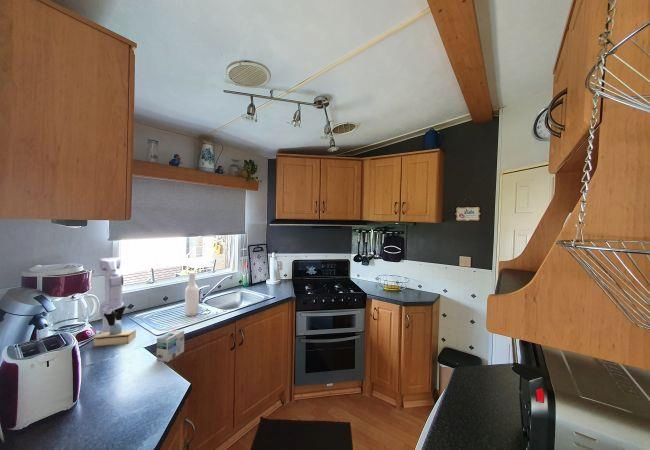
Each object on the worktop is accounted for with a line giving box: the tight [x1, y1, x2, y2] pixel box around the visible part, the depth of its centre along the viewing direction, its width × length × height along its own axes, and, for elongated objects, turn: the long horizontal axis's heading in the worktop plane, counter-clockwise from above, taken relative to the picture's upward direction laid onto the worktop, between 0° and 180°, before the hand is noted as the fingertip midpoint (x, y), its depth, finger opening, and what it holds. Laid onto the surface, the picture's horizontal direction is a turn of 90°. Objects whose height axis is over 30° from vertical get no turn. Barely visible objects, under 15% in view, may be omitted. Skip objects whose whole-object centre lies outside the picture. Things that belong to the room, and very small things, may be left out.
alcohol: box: [184, 271, 200, 317], centre depth 181 cm, size 9×9×30 cm
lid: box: [93, 329, 137, 339], centre depth 139 cm, size 8×16×1 cm, turn 103°
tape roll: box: [109, 322, 123, 335], centre depth 139 cm, size 5×5×5 cm
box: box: [92, 330, 137, 347], centre depth 139 cm, size 8×16×4 cm, turn 103°
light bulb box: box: [156, 329, 185, 363], centre depth 124 cm, size 11×7×11 cm, turn 168°
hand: (115, 322), depth 139 cm, fingers open, 7 cm apart
